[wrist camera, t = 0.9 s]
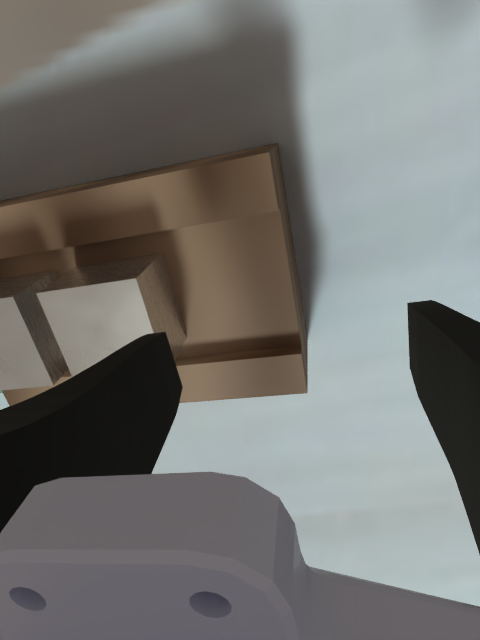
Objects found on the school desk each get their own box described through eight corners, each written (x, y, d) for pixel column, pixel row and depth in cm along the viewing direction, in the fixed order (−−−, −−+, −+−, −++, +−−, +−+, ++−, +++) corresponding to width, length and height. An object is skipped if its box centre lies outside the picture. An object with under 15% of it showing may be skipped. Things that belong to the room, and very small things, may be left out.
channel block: (277, 143, 18) (269, 152, 14) (307, 341, 22) (307, 393, 18) (-10, 203, 22) (-86, 224, 17) (62, 366, 26) (15, 415, 22)
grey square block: (162, 252, 17) (136, 278, 14) (186, 337, 19) (166, 375, 16) (76, 266, 18) (36, 293, 15) (106, 346, 20) (75, 383, 17)
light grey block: (55, 269, 18) (12, 296, 16) (87, 348, 20) (53, 385, 17) (-21, 282, 19) (-75, 309, 16) (15, 356, 21) (-28, 393, 18)
